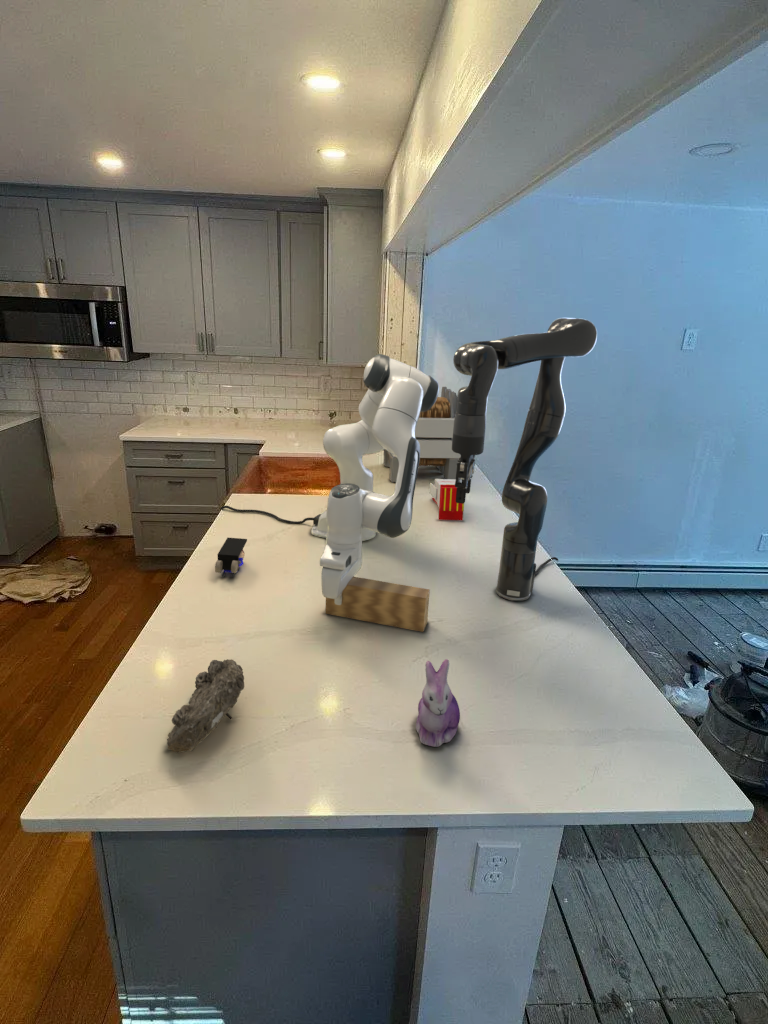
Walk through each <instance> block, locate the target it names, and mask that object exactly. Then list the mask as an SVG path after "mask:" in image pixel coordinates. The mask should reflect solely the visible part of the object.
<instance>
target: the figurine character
mask: <svg viewBox="0 0 768 1024" xmlns="http://www.w3.org/2000/svg"><path fill="white" fill-rule="evenodd" d="M247 542H248V538H240V537H226V539H225V541H224V543H223V544H222V546H221V547H220V549H219V551H218V552H217V560H216V562H215V564H214V572H215V573H221V577H222V578H224V577H225V576H226V574H227V573H230V574H231V573H232V574H231V578H234V577H235V575H236V573H237V572H239V571H240V567H242V566H243V565H244V564H245V562H244V558H245V551H244V547H245V546H246V544H247Z"/></svg>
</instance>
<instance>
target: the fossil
mask: <svg viewBox="0 0 768 1024" xmlns="http://www.w3.org/2000/svg"><path fill="white" fill-rule="evenodd" d="M243 670H244V669H243V667H242V665H240V664H237V662H236V661H235V660H234V659H232V658H231V659H227V658H226V659H224V660H223V661H222V660H217V659H212V660H211V661H210V663H209V665H208V666H207V671H201V672H199V673H198V674H197V675H196V676H195V680H194V684H195V685H194V687H195V689H194V690H193V693H192V694H191V697H190V698H189V700H188V704H184V705H182V706H181V707H180V709H177V710H176V711H175V713H174V715H173V716H172V718H171V723H172V724H173V727H172V730H171V731H170V732H168V734H167V738H166V741H167V742H166V745H167V749H168V750H169V751H173V752H174V753H176V754H178V753H182V752H188V751H189V752H192V751H193V750H195V748H196V747H197V746H199V744H200V743H201V742H203V741H204V740H205V739H206V738H207V737H208V736H209V735H210V734H211V733H212V732H214V730H215V729H217V727H218V726H219V724H220V722H221V721H222V720H223V719H224V718H225V716H226V717H227V719H229V720H233V717H232V715H230V714H229V710H230V709H231V708H234V706H235V704H236V703H237V702H238V699H239V697H240V695H241V693H242V691H243V690H245V689H244V688H245V675H244V671H243Z"/></svg>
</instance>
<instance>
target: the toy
mask: <svg viewBox="0 0 768 1024" xmlns="http://www.w3.org/2000/svg"><path fill="white" fill-rule="evenodd" d="M455 481H456V479H445V478H434V484H433V483H432V482H430V483H429V490H428V491H429V492H428V493H429V494H430V495H431V496H432V497H431V499H432V501H433V502H434V503H435V504H436V505H437V507H438V521H464V520H463V519H464V511H465V510H464V509H465V503H463V504H462V503H456V491H457V488H456V487H455Z"/></svg>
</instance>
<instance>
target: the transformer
mask: <svg viewBox="0 0 768 1024" xmlns="http://www.w3.org/2000/svg"><path fill="white" fill-rule="evenodd" d="M440 393H441V394H440V396H438V397H437V400H436V402H435V403H434V405H433V406H432V407H431V408H430V409H429V410H428V411H425V412H420V415H419V419H418V422H417V425H416V428H415V439H416V440H417V441H418V442H419V444H420V460H419V467H436V468H437V470H438V469H439V473H440V474H441V475H443V479H456V471H457V460H459V458H460V457H461V455H460V454H459V453H455V452H453V451H452V438H453V427H454V419H455V415H456V404H457V395H458V394H457V392H455V391H453V390H452V389H451V388H447V386H442V387H441V392H440ZM383 466H384V467H388V468H389V475H388V476H389V477H388V478H389V480H390V482H391V483H396V480H397V474H398V469H399V461H398V459H397V457H396V456H395V455H393V454H392V453H390V452H389V451H387V450H386V449H385V450H383ZM459 482H461V480H460V481H459Z"/></svg>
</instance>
